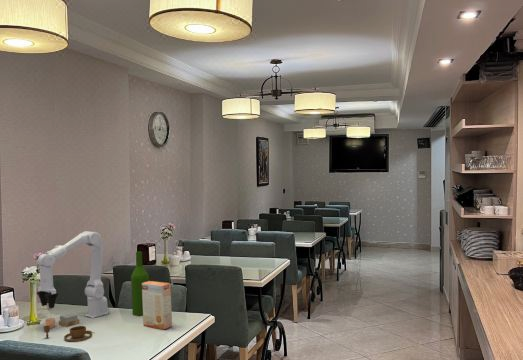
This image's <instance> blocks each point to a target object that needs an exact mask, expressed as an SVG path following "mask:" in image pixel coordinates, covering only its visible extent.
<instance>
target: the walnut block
mask: <svg viewBox="0 0 523 360" xmlns="http://www.w3.org/2000/svg"><path fill="white" fill-rule="evenodd" d="M79 324H80V319H78V320H76V321H72V322H68V323H65V322H62V321H60V320H58V325H59V326H62V327H64V328H69V327H74V326H76V325H79Z"/></svg>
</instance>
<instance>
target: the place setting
mask: <svg viewBox="0 0 523 360" xmlns="http://www.w3.org/2000/svg"><path fill="white" fill-rule="evenodd" d="M43 330H44V333H45V339H49V336H50V335H49V333H50V330H51V329H50V326H45V325H44V326H43ZM93 334H95V332H93V331H92V330H89V329H87V326H84V325H77V326H76V325H75V326H71V327H70V328H69V333H67V334H65V335H64V336H63V339H64V340H65V341H66V342H68V343H76V342H82V341H86V340H88V339H90V338H92V337H93V336H92V335H93ZM86 335H88V336H86ZM69 337H71V338H72V339H70V338H69Z"/></svg>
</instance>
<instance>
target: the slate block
mask: <svg viewBox="0 0 523 360" xmlns="http://www.w3.org/2000/svg"><path fill="white" fill-rule="evenodd" d="M78 318H79V317H78V314H77V313H76V314H75V313H73V312H69V313H67V314H62V315H60V316H59V321H62V322H65V323H68V322H72V321H76V320H79V319H78Z"/></svg>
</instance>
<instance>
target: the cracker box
mask: <svg viewBox="0 0 523 360" xmlns="http://www.w3.org/2000/svg"><path fill="white" fill-rule="evenodd" d="M171 291H172V290H171V283H170V282H162V281H154V280H152V281H151V280H149V281H148V282H144V283H142V300H143V316H142V317H143V318H142V319H143V321H142V322H143V324H142V325H143V326H144V327H147V328H149V327H150V328H153V329H159V330H162V331H163V330H167V329H169V328H172V327H173V318H172V317H173V315H172V296H171V295H172V292H171Z"/></svg>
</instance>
